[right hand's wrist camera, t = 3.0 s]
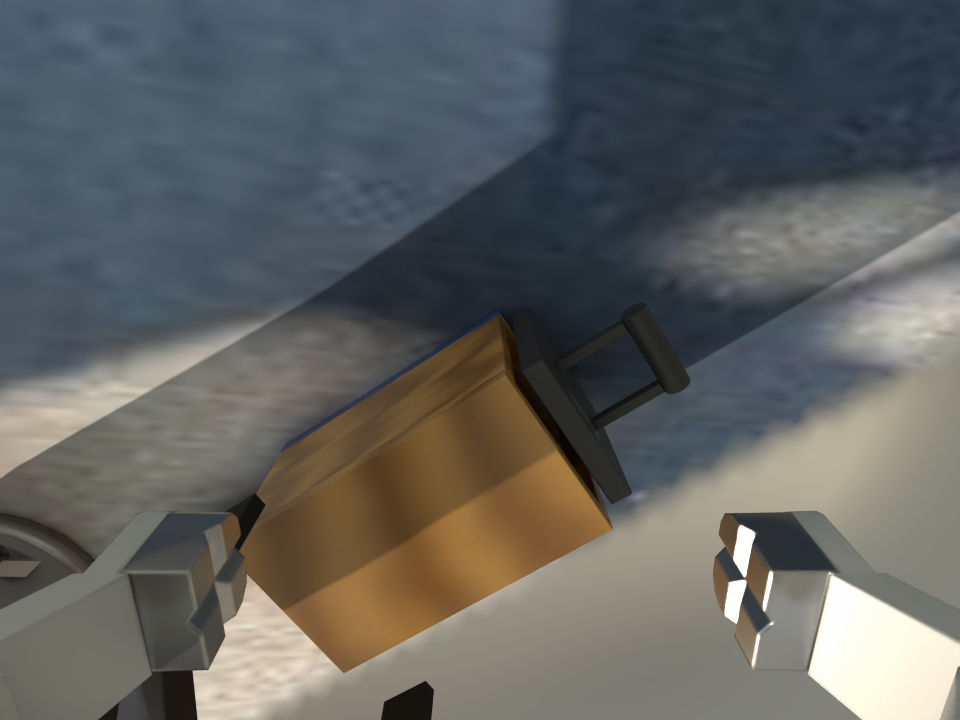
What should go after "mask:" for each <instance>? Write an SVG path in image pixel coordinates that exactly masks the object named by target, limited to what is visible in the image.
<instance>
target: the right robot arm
mask: <svg viewBox="0 0 960 720" xmlns="http://www.w3.org/2000/svg"><path fill="white" fill-rule="evenodd" d="M240 536H241V531H240V526H239V521H238V517H237V516H236V515H235V514H234V513H230V512H183V511H175V512H172V511H145V512H141V513H138V514H137V515H136V516H135V517H134V518H133V519H132V520H131V521H130V522H129V523H128V524H127V526H126V527H125V528H124V529H123V530H122V531H121V532H120V533H119V534H118V535H117V537H116V538H115V539H114V540H113V541H112V542H111V543H110V544H109V545H108V547H107V548H106V549H105V550H104V551H103V552H102V553H101V554H100V555H99V557H98V558H97V559H96V560H95V561H94V562H93V563H92V564H91V565H90V566H89V568H88V569H87V570H86V571H85V572H84V573H73V574H71V575H69V576H67V577H65V578H63V579H61V580H59V581H57V582H55V583H53V584H51V585H49V586H47V587H45V588H43V589H41V590H39V591H37V592H35V593H33V594H31V595H29V596H27V597H25V598H23V599H21V600H19V601H17V602H15V603H13V604H10V605H8V606H6V607H4V608H2V609H0V720H98V719H99V718H101V717H102V716H103V715H104V714H105V713H107V712H108V711H109V710H110V709H111V708H113V707H114V706H115V705H116V704H117V703H119V702H120V701H121V700H122V699H123V698H125V697H126V696H127V695H128V694H129V693H131V692H132V691H133V690H134V689H135V688H137V687H138V686H139V685H140V684H141V683H143V682H144V681H145V680H146V679H147V678H149V677H150V676H151V675H152V672H157V671H191V670H208V669H209V667H210V665H211V663H212V662H213V660H214V658H215V656H216V654H217V652H218V650H219V648H220V646H221V644H222V642H223V640H224V638H225V632H224V626H223V624H224V623H226V622H227V621H228V620H230V619H231V618H233V617H234V616H236V614H237V612H238V610H239V608H240V606H241V604H242V601H243V597H244V592H245V588H246V578H247V568H246V562H245V557H244V556H243V555H242V554H241V552H240V551H239V550H238V549H237V548H236V547H235V544H236V543H237V541H238V539H239V538H240ZM719 536H720V538H721V539H722V541H723V543H724V544H725V547H724V548H723V549H722V550H721V552H719V554H718V555H717V556H716V557H715V562H714V571H713V578H714V589H715V594H716V597H717V600H718V604H719V606H720V608H721V610H722V612H723V614H724V616H726V617H727V618H729V619H730V620H732V621H733V622H734V623H736V624H737V626H736V632H735V638H736V640H737V642H738V644H739V646H740V648H741V650H742V652H743V654H744V655H745V657H746V659H747V661H748V663H749V665H750V667H751V669H752V670H767V671H803V672H808V675H809V676H811V677H812V678H813V679H814V680H815V681H817V682H818V683H819V684H820V685H821V686H823V687H824V688H825V689H826V690H827V691H829V692H830V693H831V694H832V695H833V696H835V697H836V698H837V699H838V700H839V701H841V702H842V703H843V704H844V705H845V706H846V707H848V708H849V709H850V710H851V711H852V712H854V713H855V714H856V715H857V716H858V717H860V718H861V719H862V720H960V610H959V609H957V608H955V607H953V606H951V605H949V604H947V603H945V602H943V601H941V600H939V599H937V598H935V597H933V596H931V595H929V594H927V593H925V592H923V591H921V590H919V589H917V588H915V587H913V586H911V585H909V584H907V583H905V582H903V581H901V580H899V579H897V578H895V577H893V576H891V575H889V574H885V573H876V572H875V571H874V570H873V569H872V568H871V566H870V565H869V564H868V563H867V562H866V561H865V560H864V559H863V558H862V557H861V555H860V554H859V553H858V552H857V551H856V550H855V549H854V548H853V547H852V545H851V544H850V543H849V542H848V541H847V540H846V539H845V538H844V537H843V536H842V534H841V533H840V532H839V531H838V530H837V529H836V528H835V527H834V526H833V524H832V523H831V522H830V521H829V520H828V519H827V518H826V517H825V516H824V515H823V514H822V513H819V512H817V511H795V512H776V513H725V514H724V516H723V518H722V520H721V524H720V530H719Z"/></svg>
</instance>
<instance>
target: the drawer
mask: <svg viewBox="0 0 960 720" xmlns="http://www.w3.org/2000/svg"><path fill="white" fill-rule="evenodd" d="M621 320H622V321H621ZM621 320H620V321H619V322H617V323H615V324H614V325H612V326H610V327H609V328H607V329H606V330H604V331H602V332H601V333H599V334H597V335H596V336H594V337H592V338H591V339H589V340H587V341H586V342H584V343H582V344H581V345H579V346H577V347H576V348H574V349H573V350H571V351H569V352H568V353H566V354H564V355H563V356H561V357H560V356H559V354H558V353H557V351H556V350H555V348H554V347H553V345H552V344H551V342H550V341H549V339H548V338H547V336H546V335H545V333H544V331H543V330H542V328H541V327H540V325H539V324H538V322H537V321H536V319H535V318H534V316H533V315H532V313H531V312H530V310H529V309H528V308H526V309H524V310H523V311H521V312H520V313H518V314H516V315H515V316H513V317H512V324H513V329H514V335H515V340H516V345H517V351H518V356H519V361H520V367H521V372H522V374H523V376H524V377H525V379H526V380H527V382H528V383H529V385H530V386H531V387H532V389H533V390H534V392H535V393H536V395H537V396H538V398H539V399H540V401H541V402H542V403H543V405H544V406H545V408H546V409H547V411H548V412H549V414H550V415H551V417H552V418H553V419H554V421H555V422H556V424H557V425H558V427H559V428H560V430H561V431H562V433H563V434H564V435H565V437H566V438H567V440H568V441H569V443H570V444H571V446H572V447H573V449H574V450H575V451H576V453H577V454H578V456H579V457H580V459H581V460H582V462H583V463H584V465H585V466H586V467H587V469H588V470H589V472H590V473H591V475H592V476H593V478H594V479H595V481H596V482H597V483H598V485H599V486H600V488H601V489H602V491H603V492H604V494H605V495H606V497H607V498H608V499H609V501H610V502H611V503H612V504H614V503H616V502H617V501H619V500H621V499H623V498H625V497H627V496H629V495H630V494H632V492H631V489H630V487H629V485H628V482H627V480H626V478H625V475H624V473H623V471H622V468H621V466H620V464H619V461H618V459H617V457H616V454H615V452H614V450H613V447H612V445H611V443H610V440H609V438H608V436H607V433H606V431H605V429H604V426H606V425H608V424H610V423H611V422H613V421H615V420H617V419H618V418H620V417H622V416H624V415H625V414H627V413H629V412H631V411H632V410H634V409H636V408H638V407H639V406H641V405H643V404H645V403H646V402H648V401H650V400H652V399H653V398H655V397H657V396H658V395H660V394H662V393H664V392H666V393H668V394H674V393H678V392H680V391H682V390H683V389H685V388H686V387H687V386H688V385H689V383H690V378H689V376H688V374H687V373H686V371H685V369H684V367H683V366H682V364H681V362H680V361H679V359H678V357H677V355H676V354H675V352H674V350H673V349H672V347H671V345H670V344H669V342H668V340H667V338H666V337H665V335H664V333H663V332H662V330H661V328H660V326H659V325H658V323H657V321H656V320H655V318H654V316H653V315H652V313H651V311H650V309H649V308H648V306H647V304H646V303H638V304H635V305H633V306H631V307H629V308H628V309H627V310H625V311H624V312H623V313H622V315H621ZM628 332H629V333H630V335H631V337H632V338H633V340H634V342H635V343H636V345H637V346H638V348H639V350H640V351H641V353H642V355H643V356H644V358H645V360H646V361H647V363H648V365H649V366H650V368H651V370H652V371H653V373H654V374H655V376H656V378H657V379H658V380H656V381H654V382H652V383H651V384H649V385H647V386H646V387H644V388H642V389H640V390H639V391H637V392H635V393H633V394H632V395H630V396H628V397H627V398H625V399H623V400H621V401H620V402H618V403H616V404H614V405H613V406H611V407H609V408H607V409H606V410H604V411H602V412H601V413H599V414H597V412H596V411H595V409H594V408H593V406H592V405H591V403H590V401H589V400H588V398H587V397H586V395H585V394H584V392H583V391H582V389H581V388H580V386H579V385H578V383H577V382H576V380H575V379H574V377H573V376H572V374H571V373H570V371H569V370H568V368H569V367H571V366H573V365H574V364H576V363H578V362H579V361H581V360H583V359H584V358H586V357H588V356H589V355H591V354H593V353H594V352H596V351H598V350H599V349H601V348H603V347H604V346H606V345H608V344H609V343H611V342H613V341H614V340H616V339H618V338H619V337H621V336H623V335H624V334H626V333H628ZM512 366H513V373H514V379H515V384H516V385H517V387H518V388H519V389H520V391H521V392H522V394H523V395H524V397H525V398H526V399H527V401H528V402H529V404H530V405H531V407H532V408H533V410H534V411H535V412H536V414H537V415H538V417H539V418H540V420H541V421H542V422H543V424H544V425H545V427H546V428H547V430H548V431H549V433H550V434H551V435H552V437H553V438H554V440H555V441H556V443H557V444H558V445H559V447H560V448H561V450H562V451H563V453H564V449H563V446H562V442H561V438H560V435H559V431H558V428H557V427H556V425H555V424H554V423H553V421H552V420H551V418H550V417H549V415H548V414H547V412H546V411H545V409H544V408H543V407H542V405H541V404H540V402H539V401H538V399H537V398H536V396H535V395H534V393H533V392H532V391H531V389H530V388H529V386H528V385H527V383H526V382H525V380H524V379H523V378H522V376H521V375H520V373H519V372H518V370H517V369H516V367H515V366H514V364H513V363H512ZM564 454H565V453H564Z"/></svg>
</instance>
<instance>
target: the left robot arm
mask: <svg viewBox="0 0 960 720" xmlns="http://www.w3.org/2000/svg"><path fill="white" fill-rule="evenodd" d="M265 506H266V505H265V504H264V502H263V501H262V500H261V499H260V498H259V497H258V496H257V495H256V494H253V495H252V496H250V497H249V498H247V499H245V500H244V501H242V502H241V503H239V504H237V505H236V506H234V507H233V508H231V509H229V510H228V511H226V512H230V513H234V514H235V515H236V516H237V517H238V521H239V526H240V531H241V536H240V538H239V539H238V541H237V543H236V544H235V547H236V548H237V549H238V550H240V549H241V547H242V545H243V543H244V542H245V540H246V538H247V537H248V535H249V533H250V531H251V530H252V528H253V526H254V525H255V523H256V521H257V519H258V518H259V516H260V514H261V513H262V511H263V509H264V507H265ZM92 563H93V560H92V559H91V558H90V557H89V556H88V555H87V554H86V553H85V552H83V551H82V550H81V549H80V548H79V547H77V546H76V545H75V544H74V543H72V542H71V541H69V540H68V539H66V538H65V537H63V536H62V535H60V534H58V533H56V532H55V531H53V530H51V529H49V528H47V527H44V526H42V525H40V524H37V523H34V522H32V521H29V520H26V519H22V518H18V517H14V516H9V515H3V514H0V609H2V608H4V607H6V606H8V605H10V604H13V603H15V602H17V601H19V600H21V599H23V598H25V597H27V596H29V595H31V594H33V593H35V592H37V591H39V590H41V589H43V588H45V587H47V586H49V585H51V584H53V583H55V582H57V581H59V580H61V579H63V578H65V577H67V576H69V575H71V574H73V573H84V572H85V571H86V570H87V569H88V568H89V566H90V565H91V564H92ZM433 694H434V689H433V688H432V687H431V686H430V685H429V684H428V683H427V682H426V681H424V682H422V683H421V684H418V685H417V686H415V687H413V688H411V689H409V690H407V691H405V692H403V693H401V694H399V695H397V696H395V697H393V698H391V699H389V700H387V701H385V702H384V706H383V712H382V717H381V720H431V716H432V705H433ZM98 720H197V710H196V701H195V691H194V681H193V672H192V670H191V671H157V672H152V675H151V676H150V677H149V678H147V679H146V680H145V681H144V682H143V683H141V684H140V685H139V686H138V687H137V688H135V689H134V690H133V691H132V692H131V693H129V694H128V695H127V696H126V697H125V698H123V699H122V700H121V701H120V702H119V703H117V704H116V705H115V706H114V707H113V708H111V709H110V710H109V711H108V712H107V713H105V714H104V715H103V716H102V717H101V718H99V719H98Z"/></svg>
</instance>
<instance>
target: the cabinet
mask: <svg viewBox="0 0 960 720" xmlns="http://www.w3.org/2000/svg"><path fill="white" fill-rule="evenodd" d="M512 363H513V364H514V366H515V367H516V369H517V370H518V372H519V373H520V375H521V376H522V378H523V379H524V380H525V382H526V383H527V385H528V386H529V388H530V389H531V391H532V392H533V393H534V395H535V396H536V398H537V399H538V401H539V402H540V404H541V405H542V407H543V408H544V409H545V411H546V412H547V414H548V415H549V417H550V418H551V420H552V421H553V423H554V424H555V425H556V427H557V428H558V431H559V435H560V438H561V442H562V446H563V449H564V453H565V454H564V453H563V451H562V450H561V448H560V447H559V445H558V444H557V443H556V441H555V440H554V438H553V437H552V435H551V434H550V433H549V431H548V430H547V428H546V427H545V425H544V424H543V422H542V421H541V420H540V418H539V417H538V415H537V414H536V412H535V411H534V410H533V408H532V407H531V405H530V404H529V402H528V401H527V399H526V398H525V397H524V395H523V394H522V392H521V391H520V389H519V388H518V387H517V385H516V384H515V379H514V373H513V366H512ZM256 495H257V496H258V497H259V498H260V499H261V500H262V501H263V502H264V504H265V505H266V506H265V507H264V509H263V511H262V513H261V514H260V516H259V518H258V519H257V521H256V523H255V525H254V526H253V528H252V530H251V531H250V533H249V535H248V537H247V538H246V540H245V542H244V543H243V545H242V547H241V549H240V550H239V551H240V552H241V554H242V555H243V556H244V557H245V562H246V568H247V575H248V576H249V577H250V578H251V579H252V580H253V581H254V582H255V583H256V584H257V585H258V586H259V587H260V588H261V589H262V590H263V591H264V592H265V593H266V594H267V595H268V596H269V597H270V598H271V599H272V600H273V601H274V602H275V603H276V604H277V605H278V606H279V607H280V608H281V609H282V610H283V612H284V613H285V614H286V615H287V616H288V617H289V618H290V619H291V620H292V621H293V622H294V623H295V624H296V625H297V626H298V627H299V628H300V629H301V630H302V631H303V632H304V633H305V634H306V635H307V636H308V637H309V638H310V639H311V640H312V641H313V642H314V643H315V644H316V645H317V646H318V647H319V648H320V650H321V651H322V652H323V653H324V654H325V655H326V656H327V657H328V658H329V659H330V660H331V661H332V662H333V663H334V664H335V665H336V666H337V667H338V668H339V669H340V670H341V671H342V672H343V673H345V672H347V671H349V670H351V669H353V668H355V667H356V666H358V665H360V664H362V663H364V662H366V661H368V660H369V659H371V658H373V657H375V656H377V655H379V654H381V653H383V652H384V651H386V650H388V649H390V648H392V647H394V646H396V645H397V644H399V643H401V642H403V641H405V640H407V639H409V638H411V637H412V636H414V635H416V634H418V633H420V632H422V631H424V630H425V629H427V628H429V627H431V626H433V625H435V624H437V623H439V622H440V621H442V620H444V619H446V618H448V617H450V616H452V615H453V614H455V613H457V612H459V611H461V610H463V609H465V608H466V607H468V606H470V605H472V604H474V603H476V602H478V601H480V600H481V599H483V598H485V597H487V596H489V595H491V594H493V593H494V592H496V591H498V590H500V589H502V588H504V587H506V586H508V585H509V584H511V583H513V582H515V581H517V580H519V579H521V578H522V577H524V576H526V575H528V574H530V573H532V572H534V571H536V570H537V569H539V568H541V567H543V566H545V565H547V564H549V563H550V562H552V561H554V560H556V559H558V558H560V557H562V556H564V555H565V554H567V553H569V552H571V551H573V550H575V549H577V548H578V547H580V546H582V545H584V544H586V543H588V542H590V541H592V540H593V539H595V538H597V537H599V536H601V535H603V534H605V533H606V532H608V531H610V530H612V529H613V528H612V525H611V522H610V519H609V517H608V514H607V511H606V508H605V505H604V502H603V499H602V496H601V493H600V490H599V487H598V484H597V482H596V481H595V479H594V478H593V476H592V475H591V473H590V472H589V470H588V469H587V467H586V466H585V465H584V463H583V462H582V460H581V459H580V457H579V456H578V454H577V453H576V451H575V450H574V449H573V447H572V446H571V444H570V443H569V441H568V440H567V438H566V437H565V435H564V434H563V433H562V431H561V430H560V428H559V427H558V425H557V424H556V422H555V421H554V419H553V418H552V417H551V415H550V414H549V412H548V411H547V409H546V408H545V406H544V405H543V403H542V402H541V401H540V399H539V398H538V396H537V395H536V393H535V392H534V390H533V389H532V387H531V386H530V385H529V383H528V382H527V380H526V379H525V377H524V376H523V374H522V372H521V367H520V361H519V356H518V351H517V345H516V340H515V335H514V333H513V331H512V330H511V328H510V327H509V326H508V324H507V323H506V321H505V320H504V318H503V317H502V315H501V314H500V312H499V310H497V311H495V312H493V313H492V314H490V315H489V316H487V317H486V318H484V319H482V320H481V321H479V322H478V323H476V324H475V325H473V326H472V327H470V328H468V329H467V330H465V331H464V332H462V333H461V334H459V335H457V336H456V337H454V338H453V339H451V340H450V341H448V342H446V343H445V344H443V345H442V346H440V347H439V348H437V349H435V350H434V351H432V352H431V353H429V354H428V355H426V356H424V357H423V358H421V359H420V360H418V361H417V362H415V363H413V364H412V365H410V366H409V367H407V368H406V369H404V370H402V371H401V372H399V373H398V374H396V375H395V376H393V377H391V378H390V379H388V380H387V381H385V382H384V383H382V384H380V385H379V386H377V387H376V388H374V389H373V390H371V391H369V392H368V393H366V394H365V395H363V396H362V397H360V398H358V399H357V400H355V401H354V402H352V403H351V404H349V405H347V406H346V407H344V408H343V409H341V410H340V411H338V412H336V413H335V414H333V415H332V416H330V417H329V418H327V419H325V420H324V421H322V422H321V423H319V424H318V425H316V426H314V427H313V428H311V429H310V430H308V431H307V432H305V433H304V434H302V435H300V436H299V437H297V438H296V439H294V440H293V441H291V442H289V443H288V444H286V445H285V446H284V448H283V450H282V451H281V454H280V456H279V457H278V459H277V460H276V462H275V464H274V465H273V467H272V469H271V470H270V472H269V474H268V475H267V477H266V479H265V480H264V482H263V484H262V485H261V487H260V489H259V490H258V492H257V494H256Z"/></svg>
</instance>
